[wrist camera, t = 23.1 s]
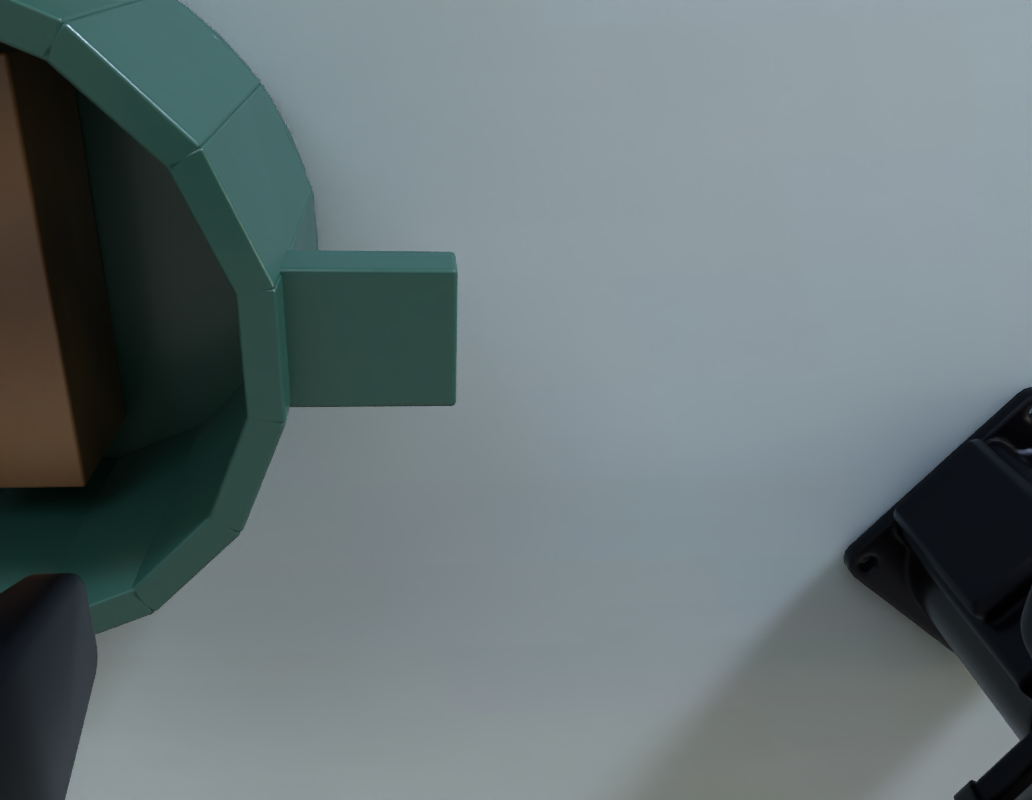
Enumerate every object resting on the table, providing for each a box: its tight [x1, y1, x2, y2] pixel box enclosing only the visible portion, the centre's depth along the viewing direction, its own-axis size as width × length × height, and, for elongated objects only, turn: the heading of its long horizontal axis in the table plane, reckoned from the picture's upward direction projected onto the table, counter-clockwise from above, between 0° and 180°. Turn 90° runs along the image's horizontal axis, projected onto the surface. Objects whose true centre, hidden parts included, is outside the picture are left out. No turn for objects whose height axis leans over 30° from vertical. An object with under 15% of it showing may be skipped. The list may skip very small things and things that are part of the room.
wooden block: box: [0, 42, 126, 488], centre depth 18 cm, size 8×3×3 cm, turn 178°
